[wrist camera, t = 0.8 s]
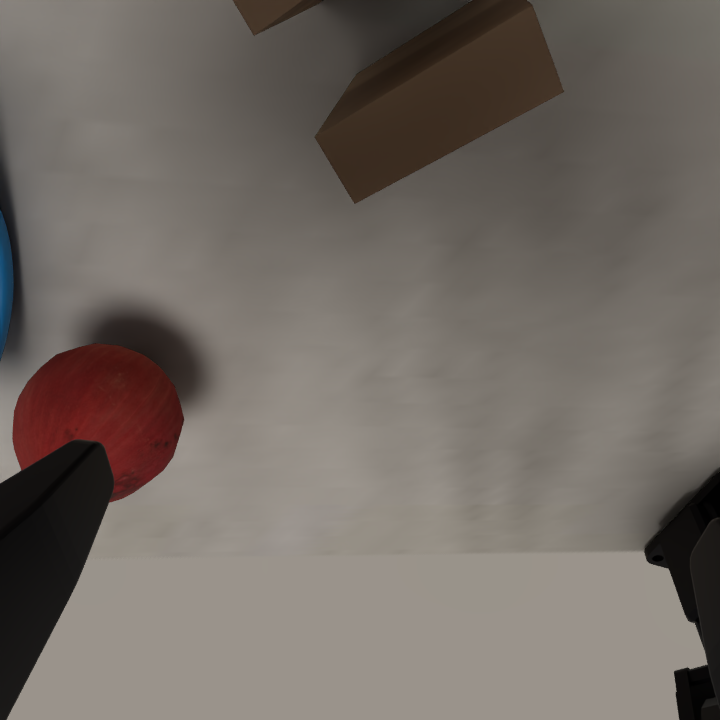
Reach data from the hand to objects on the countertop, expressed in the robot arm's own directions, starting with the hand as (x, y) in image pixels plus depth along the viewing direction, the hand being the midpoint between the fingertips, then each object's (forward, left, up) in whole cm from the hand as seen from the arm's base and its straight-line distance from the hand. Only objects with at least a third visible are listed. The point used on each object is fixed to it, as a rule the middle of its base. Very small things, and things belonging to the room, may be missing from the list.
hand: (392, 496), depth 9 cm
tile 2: (+1, -4, -13) cm, 14 cm away
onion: (+9, +11, -13) cm, 19 cm away
